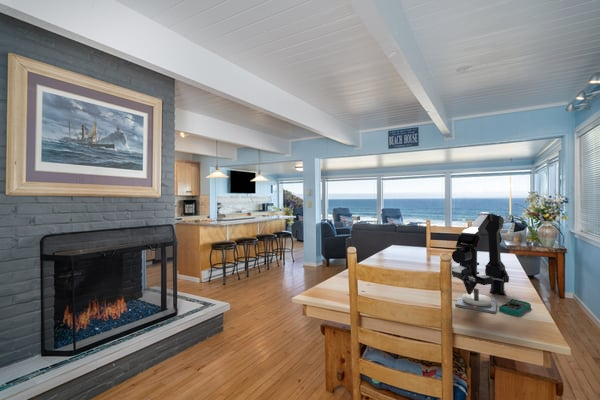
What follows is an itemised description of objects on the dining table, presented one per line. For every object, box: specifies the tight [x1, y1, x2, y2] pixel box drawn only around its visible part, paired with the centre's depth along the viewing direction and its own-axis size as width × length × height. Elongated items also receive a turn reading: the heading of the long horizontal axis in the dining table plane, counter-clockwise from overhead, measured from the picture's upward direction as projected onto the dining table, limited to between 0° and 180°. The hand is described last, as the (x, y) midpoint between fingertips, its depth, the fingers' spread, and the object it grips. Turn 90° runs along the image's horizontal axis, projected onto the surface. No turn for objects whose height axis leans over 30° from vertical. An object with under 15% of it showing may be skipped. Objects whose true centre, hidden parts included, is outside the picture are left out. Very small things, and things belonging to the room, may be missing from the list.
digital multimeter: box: [498, 298, 532, 317], centre depth 126 cm, size 7×15×3 cm, turn 125°
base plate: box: [454, 293, 498, 315], centre depth 132 cm, size 16×15×1 cm
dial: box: [462, 287, 492, 306], centre depth 132 cm, size 11×11×7 cm
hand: (469, 294), depth 131 cm, fingers closed
